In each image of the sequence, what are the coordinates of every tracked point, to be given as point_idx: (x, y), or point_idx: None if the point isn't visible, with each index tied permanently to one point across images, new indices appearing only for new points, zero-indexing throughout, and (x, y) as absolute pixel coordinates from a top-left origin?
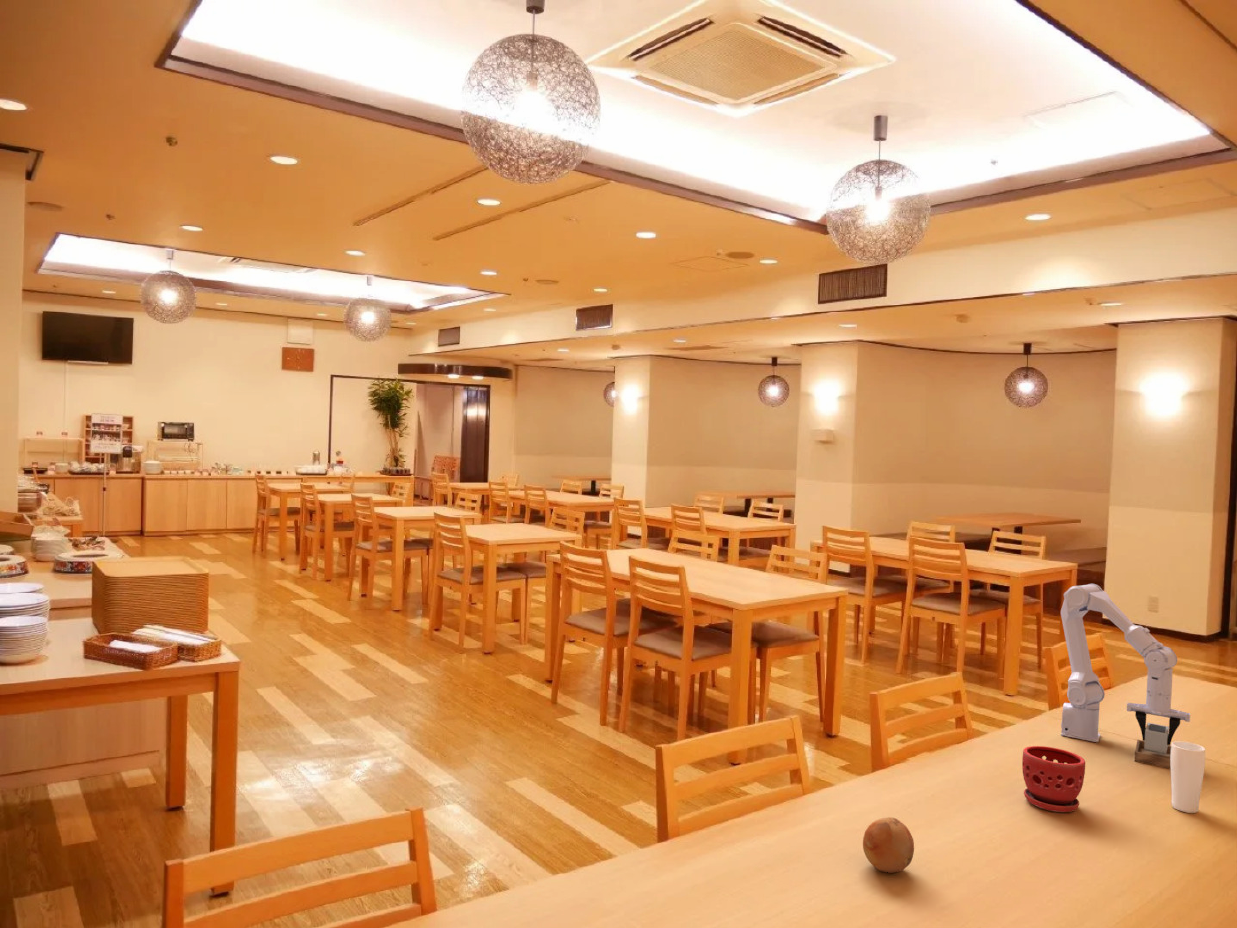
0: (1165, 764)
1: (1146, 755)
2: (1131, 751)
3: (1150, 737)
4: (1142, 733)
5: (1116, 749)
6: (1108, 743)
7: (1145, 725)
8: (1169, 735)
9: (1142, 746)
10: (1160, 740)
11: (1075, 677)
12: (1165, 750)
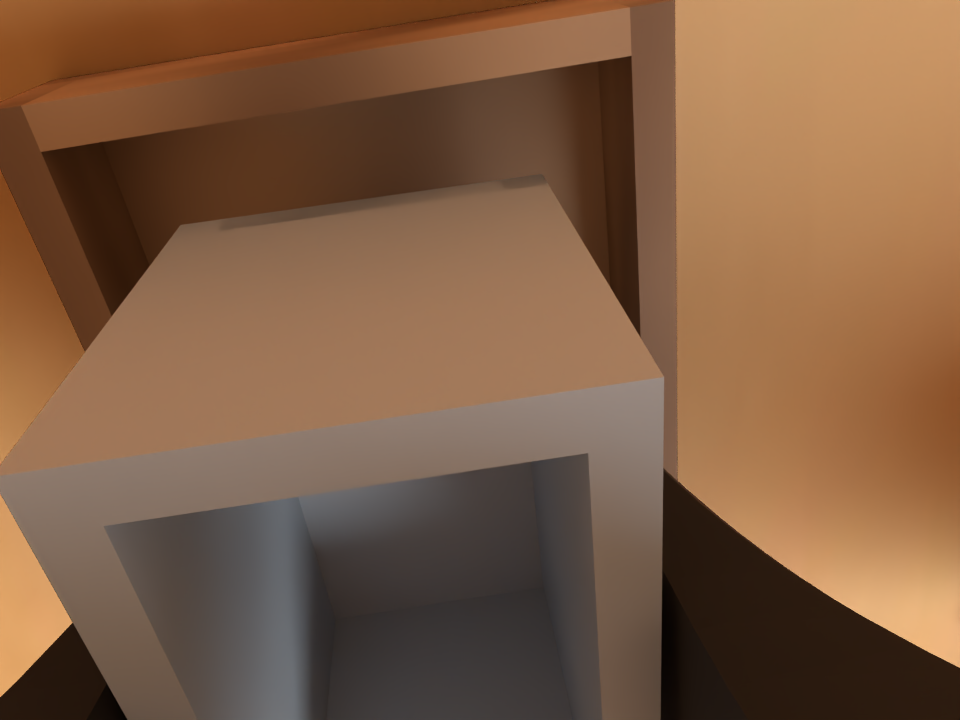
0: (176, 67)
1: (471, 32)
2: (689, 400)
3: (475, 303)
4: (676, 486)
5: (855, 335)
6: (928, 471)
7: (690, 704)
8: None
9: None
10: (239, 326)
11: None
12: (171, 248)
